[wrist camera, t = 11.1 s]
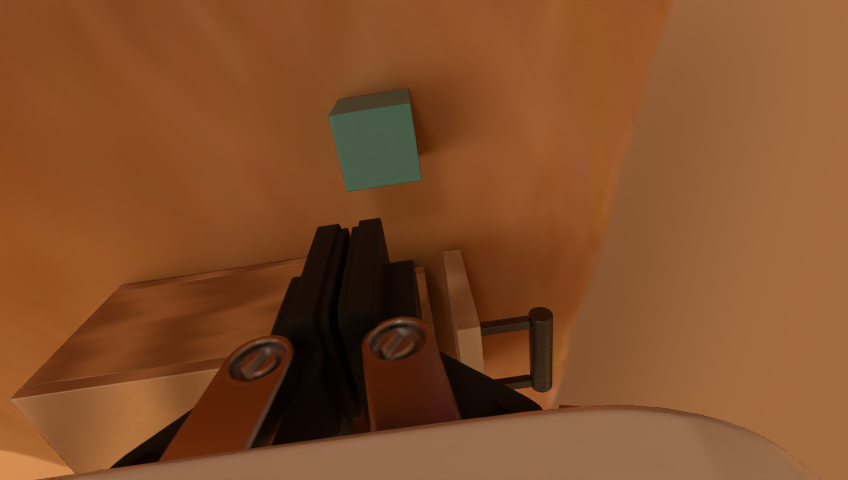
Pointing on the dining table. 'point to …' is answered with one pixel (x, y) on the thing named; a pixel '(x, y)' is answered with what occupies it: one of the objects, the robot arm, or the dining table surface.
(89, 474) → the robot arm
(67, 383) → the cabinet
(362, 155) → the block
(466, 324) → the drawer
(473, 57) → the dining table surface
